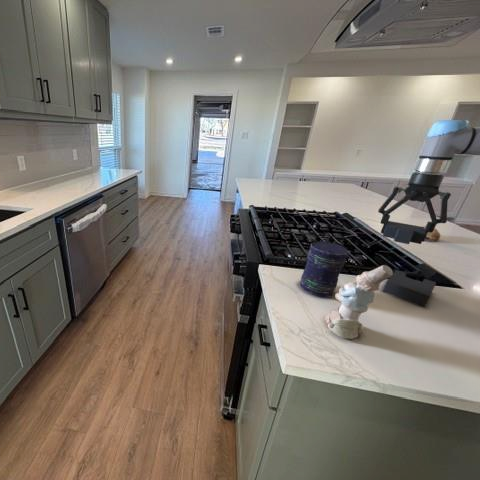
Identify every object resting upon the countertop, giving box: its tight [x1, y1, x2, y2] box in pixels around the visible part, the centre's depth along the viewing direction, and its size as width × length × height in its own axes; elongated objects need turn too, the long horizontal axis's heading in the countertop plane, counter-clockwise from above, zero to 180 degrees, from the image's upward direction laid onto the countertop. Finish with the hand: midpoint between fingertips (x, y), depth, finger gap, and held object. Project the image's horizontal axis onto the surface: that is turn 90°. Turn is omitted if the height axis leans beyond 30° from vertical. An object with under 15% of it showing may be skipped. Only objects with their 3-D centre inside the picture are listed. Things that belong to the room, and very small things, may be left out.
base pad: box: [382, 269, 437, 308], centre depth 81 cm, size 10×12×4 cm
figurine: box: [325, 264, 394, 340], centre depth 62 cm, size 9×8×20 cm
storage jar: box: [299, 240, 349, 299], centre depth 80 cm, size 10×10×15 cm
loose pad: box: [382, 220, 426, 245], centre depth 89 cm, size 10×11×4 cm
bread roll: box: [421, 225, 441, 243], centre depth 126 cm, size 10×10×8 cm
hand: (401, 236), depth 91 cm, fingers closed on loose pad, 10 cm apart
